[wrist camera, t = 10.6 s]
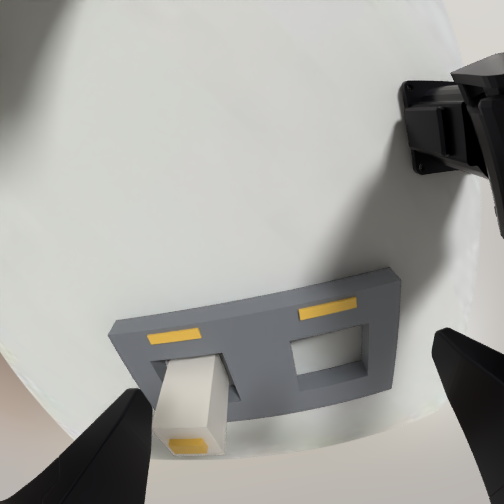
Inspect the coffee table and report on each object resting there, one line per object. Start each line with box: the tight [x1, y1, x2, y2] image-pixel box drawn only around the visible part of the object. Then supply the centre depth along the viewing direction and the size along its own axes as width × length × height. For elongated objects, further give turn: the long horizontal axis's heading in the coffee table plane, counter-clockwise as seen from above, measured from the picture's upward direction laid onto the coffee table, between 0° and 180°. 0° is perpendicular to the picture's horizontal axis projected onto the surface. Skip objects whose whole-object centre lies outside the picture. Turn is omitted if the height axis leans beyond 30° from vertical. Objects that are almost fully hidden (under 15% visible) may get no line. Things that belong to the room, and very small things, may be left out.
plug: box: [152, 353, 229, 456], centre depth 21 cm, size 4×4×9 cm
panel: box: [108, 267, 401, 422], centre depth 23 cm, size 22×12×2 cm, turn 103°
